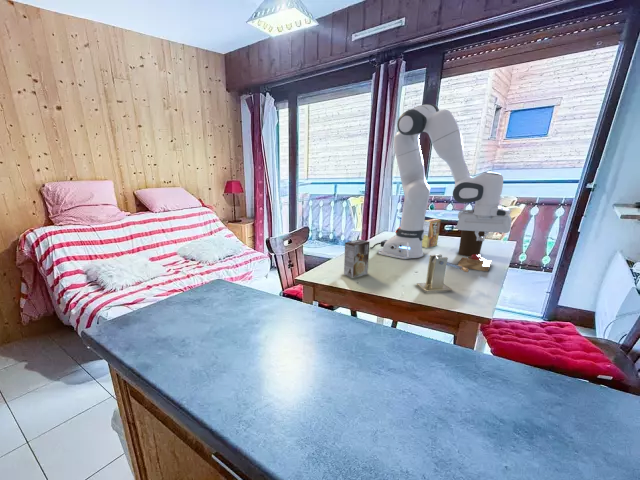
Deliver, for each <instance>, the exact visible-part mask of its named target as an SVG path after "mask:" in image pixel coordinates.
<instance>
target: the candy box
mask: <svg viewBox="0 0 640 480" xmlns="http://www.w3.org/2000/svg"><path fill="white" fill-rule="evenodd" d="M441 223H442V219H440V218H432V219H425V221H424V228H423V229H424V237H423V240H422V248H424V249H429V248H432V247H436V246H438V242H439V241H438V240H439V236H440V235H439V234H440V229H441Z"/></svg>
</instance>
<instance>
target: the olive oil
mask: <svg viewBox="0 0 640 480" xmlns="http://www.w3.org/2000/svg"><path fill="white" fill-rule="evenodd" d="M474 208H475V205H474V206H473V209H472V210H474ZM460 231H461V232H460V240H459V247H458V255H460V256H463V257H470V256H472V255H473V254H477V255H481V251H482V245H483V243H484V241H476V240H477V237H476V235H475V231H468V230H460ZM484 233H485V232H483V231H479V233H478V235H479V236H480V237H483V236H484V235H485V234H484Z"/></svg>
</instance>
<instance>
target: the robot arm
mask: <svg viewBox="0 0 640 480" xmlns="http://www.w3.org/2000/svg"><path fill="white" fill-rule="evenodd" d="M457 122H458V121H457V120H456V119H455V117H454V115H453V114H452V112H451V111H450V110H448V109H440V108H439V107H438V106H437V105H436V104H434V103H425V104H420V105H416V106H414V107H413V108H410V109H407V110H406V111H404V112H403V113H402V114H401V115H400V116H399V118H398V119H397V123H396V127H397V132H396V133H395V135H394V137H393V145H394V153H395V158H396V161H397V163H396V164H397V166H398V172H399V176H400V182H401V186H402V191H403V195H404V200H403V206H402V212H401V218H400V219H401V220H400V226H398V228H397V229H395V235H393V236H392V237H390V238H388V239H384V240H382V241H380V242H377V243H375V244H374V245H372V247H371V246H369V250H372V249H374V248H375V247H376V246H378V245H380V247H381V248H380V249H379V250H378V252H377V253H378V255H381V256H386V257H391V258H397V259H402V260H408V259H418V258H422V257H424V252H423V247H422V240H423V237H424V229H423V228H424V221H425V220H426V213H427V210H428V205H429V200H430V196H431V187H430V185H429V184H428V183H427V179H426V171H425V165H424V164H425V163H424V157H423V154H422V150H421V149H422V148H421V145H420V139H419V138H420V136H421V134H424V133H426V134H427V135H428V136H429V139H430V142H431V144H432V147H433V149H434V151H435V153H436V154H437V156H438V158H441V160H442V161H444V162H445V163H446V164H447V165H448V168H449V170H450V172H451V175H452V177H453V180H454V188H453V191H452V197H453V199H454V200H455V201H456V202H457V203H460V204H467V203H473V202H474V206H475V208H474V207H473V209H474V210H473V209H462V210H459V212H458V213H457V219H458V220H457V224H456V229H457V230H458V231H462V230H468V231H475V235H476V237H477V240H476V241H483V242H485V240H486V239H485V238H486V237H487V236H488V235H489V233H500V234H508V233H509V232H511V228H512V217H511V215H510V214H511V209H510V208H506V207H504V206H500V203H501V201H500V197H501V195H502V193H503V188H504V176H503V175H502V174H501V173H499V172H494V171H483V172H481V173H480V174H479V175H476V176H475V177H473V176H472V175H471V173H470V171H469V168H468V167H467V163H466V160H465V157H464V142H463V136H462V133H461V130H460V127H459V125H458V123H457ZM479 231H483V232H485V233H484V234H485V235H484V236H483V237H480V236H479V235H478V233H479Z"/></svg>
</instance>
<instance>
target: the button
mask: <svg viewBox="0 0 640 480" xmlns="http://www.w3.org/2000/svg"><path fill="white" fill-rule="evenodd" d="M481 257H482V255H481V254H479V255H477V254H473V255H472V256H471V259H476V260H479V259H480V258H481Z"/></svg>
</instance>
